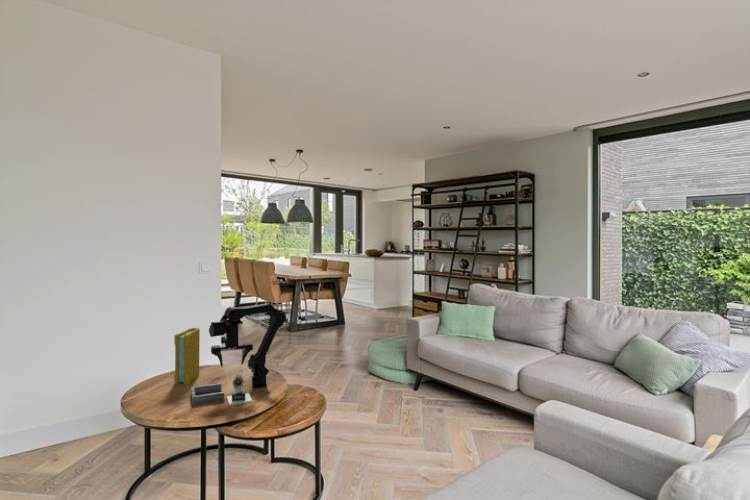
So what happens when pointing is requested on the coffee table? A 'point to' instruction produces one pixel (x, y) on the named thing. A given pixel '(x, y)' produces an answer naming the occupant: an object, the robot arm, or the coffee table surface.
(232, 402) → the pad
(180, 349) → the book
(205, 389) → the grey u-shaped piece
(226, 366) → the coffee table surface
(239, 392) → the watch
